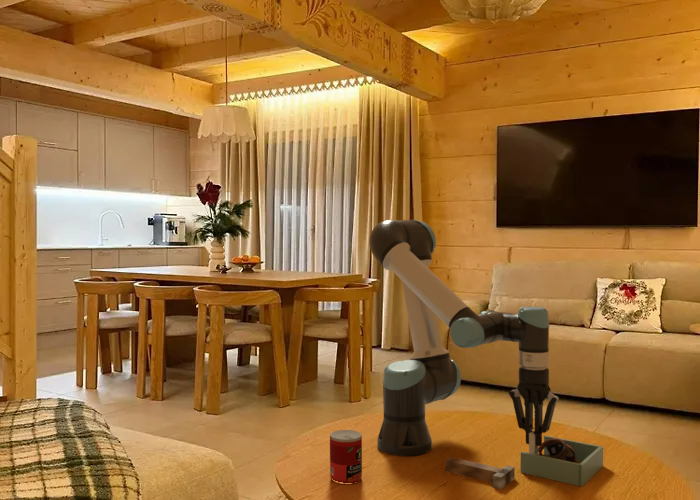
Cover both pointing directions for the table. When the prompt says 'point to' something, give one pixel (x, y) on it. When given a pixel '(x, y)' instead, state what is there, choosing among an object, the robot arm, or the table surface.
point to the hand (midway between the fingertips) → (533, 457)
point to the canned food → (346, 456)
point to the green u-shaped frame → (565, 463)
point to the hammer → (481, 471)
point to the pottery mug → (558, 450)
